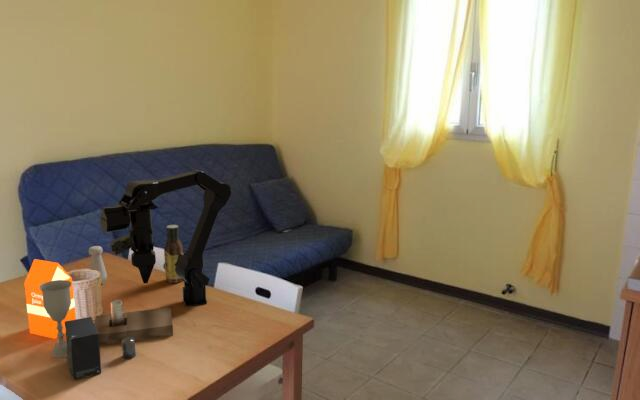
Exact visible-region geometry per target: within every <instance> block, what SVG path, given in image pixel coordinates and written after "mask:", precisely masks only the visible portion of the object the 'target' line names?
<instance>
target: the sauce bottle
mask: <svg viewBox="0 0 640 400" xmlns="http://www.w3.org/2000/svg"><path fill="white" fill-rule="evenodd" d="M179 227H180V226H179V225H177V224H169V225H167V226H166V227H165V228H166V229H165V230H166V235H167V236H166V241H165V244H164V249H163V250H164V251H163V253H164V254H163V255H164V271H165V273H164V274H165V279H166V280H165V281H167V282H168V283H171V284H175V283H176V284H177V283H181V282H183V281H182V279H181V278H180V277H179V276H178V275H177V274H176V272H175V267H176V266H175V265H174V264H175V263H176V262H177V259H178V255H179V253H181V254H184V251H183V242H182V241H181V240H180V236H179Z"/></svg>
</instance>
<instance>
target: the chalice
mask: <svg viewBox="0 0 640 400" xmlns="http://www.w3.org/2000/svg"><path fill="white" fill-rule="evenodd" d="M72 283H73V282H72ZM72 283H71V282H70V281H66V280H56V281H50V282H46V283H44V284H42V285H40V287H39V288H40V290H41V291H42V294H43V303H44V308H45V309H46V311H47V313H48V314H49V316H50V317H51V318H52V320H53V321H57V328H56V329H57V330H58V334H57V336H58V337H57V338H58V341H57V343H55V344H54V345H53V347H52V352H51V353H50V355H51V356H52V357H53V358H64V357H67V342H66V340H64V337H65V333H63V332H62V329H63V326H62V323H61V322H62V320H64V319H65V318H66V315H67V313H68V311H69V308H70V304H71V297H70V287H71V284H72Z"/></svg>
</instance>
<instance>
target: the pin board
mask: <svg viewBox="0 0 640 400" xmlns="http://www.w3.org/2000/svg"><path fill="white" fill-rule="evenodd" d="M123 317H124V325H123V326H115V327H112V317H111V313H110V314H109V313H108V314H102V315H96V316H95V319H94V324H95V326H96V329H97V331H98V333H99V346H103V345H106V346H107V345H111V344H113V345H114V344H120V343H122V339H124V338H126V337H134V338H135V341H142V340H148V339H156V338H162V337H171V336H174V328H173V326H174V325H173V317H172V311H171V306H169V307H160V308H153V309H152V308H151V309H145V310H143V309H142V310H136V311H129V312H128V311H127V312H123Z"/></svg>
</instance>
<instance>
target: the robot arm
mask: <svg viewBox="0 0 640 400" xmlns="http://www.w3.org/2000/svg"><path fill="white" fill-rule="evenodd" d="M194 186H198V188H200V189H201V190H203V199H202V200H203V208H202V210H201V214H200V217H199V218H198V222H197V225H196V227H195V230H194V233H193V234H192V235H193V236H192V239H191V240H190V242H189V246H188V248H187V250H186V251H185V252H183V254H181V253H179V255H178V259H177V262H176V263H175V264H174V265H175V266H176V267H175V272H176V274H177V275H178V276H179V277H180V278H181V279H182V281H181V282H183V284H184V286H182V289H181V290H182V301H183V303H184V305H185V306H186V307H190V306H191V307H192V306H199V305H206V304H208V301H207V289H206V287H207V286H208V285H209V281H210V278H209V277H208V276H207V275H206V274H204V273H203V269H204V252H205V251H206V247H207V245H208V242H209V239H210V237H211V233H212V232H213V229H214V226H215V223H216V220H217V217H218V216H219V212H221V210H222V209H224V208H225V207H226V205H227V204H228V202H229V200H230V198H231V196H232V189H231V187H230V185H229V184H227V183H224V182H222V181H221V182H220V181H218V180H216V179H215V178H213V177H212V176H210V175H208V174H207V173H205V172H204V171H202V170H198V169H192V171H188V172H184V173H180V174H176V175H171V176H167V177H164V178H160V179H153V180H151V179H149V180H147V179H145V180H143V179H141V180H132V181H129V182H128V183H127V184H126V186H125V189H124V193H123V195H122V197H121V198H120V200H119V202H118V203H117V205H114V206H102V207H101V213H100V216H99V224H100V227H101V230H102V232H103V233H110V232H116V231H121V230H126V229H127V228H129V227H130V229H129V233H128V234H124V235H122V236H120V237H117V238H115V239H113V240H111V241H110V242H109V246H110V248H111V251H112V253H113V254H114V255H115V256H117V255H120V253H122V252H126V251H128V250H129V249H130V251H132V253H131V255H130V257H131V258H130V259H131V265H132V266H133V267H135V268H137V269H138V272H139V273H140V274H139V275H140V278H141V280H142V283H143V284H144V285H145V284H148V283H149V281H150V278H151V274H152V272H153V269H154V267H155V264H156V262H157V261H156V259H157V257H156V252H155V251H154V250H155V248H154V247H155V246H154V245H155V244H154V237H153V224H152V212H151V211H152V210H157V209H159V206H158V205H156V204H155V203H154V202H153V201H155V200H157V198H159V197H160V196H162V195H164V194H168V193H171V192H175V191H179V190H183V189H186V188H190V187H194Z"/></svg>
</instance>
